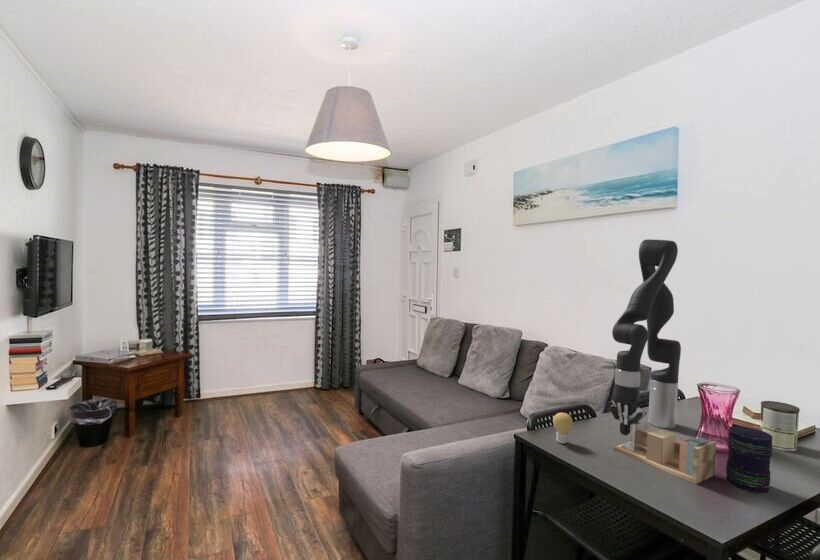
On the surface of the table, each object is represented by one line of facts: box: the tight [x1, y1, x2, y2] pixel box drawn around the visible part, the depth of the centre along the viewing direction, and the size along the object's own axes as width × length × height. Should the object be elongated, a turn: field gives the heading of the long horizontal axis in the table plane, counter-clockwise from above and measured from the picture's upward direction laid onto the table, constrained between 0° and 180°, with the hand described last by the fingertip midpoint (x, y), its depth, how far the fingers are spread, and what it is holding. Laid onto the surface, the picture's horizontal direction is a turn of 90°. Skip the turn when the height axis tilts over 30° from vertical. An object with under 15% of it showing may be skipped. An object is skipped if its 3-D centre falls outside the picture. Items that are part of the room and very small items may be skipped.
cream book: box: [646, 429, 676, 465], centre depth 133 cm, size 7×4×8 cm, turn 121°
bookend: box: [620, 420, 649, 452], centre depth 141 cm, size 7×4×9 cm, turn 121°
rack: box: [613, 426, 717, 485], centre depth 133 cm, size 10×25×10 cm, turn 31°
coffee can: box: [759, 400, 801, 452], centre depth 150 cm, size 10×10×14 cm
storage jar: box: [725, 425, 773, 495], centre depth 120 cm, size 10×10×15 cm
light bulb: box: [552, 412, 574, 444], centre depth 146 cm, size 6×6×10 cm
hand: (624, 434), depth 143 cm, fingers closed
